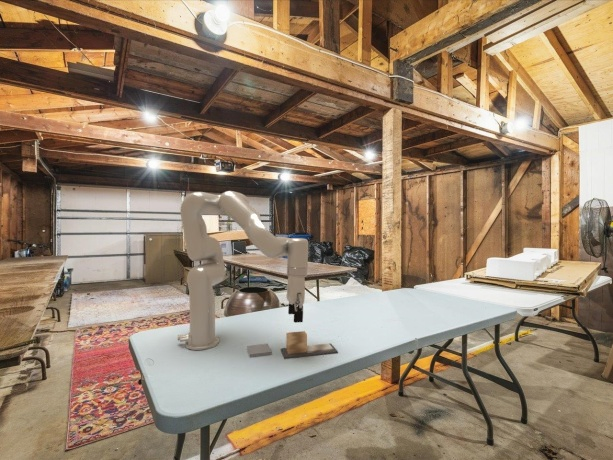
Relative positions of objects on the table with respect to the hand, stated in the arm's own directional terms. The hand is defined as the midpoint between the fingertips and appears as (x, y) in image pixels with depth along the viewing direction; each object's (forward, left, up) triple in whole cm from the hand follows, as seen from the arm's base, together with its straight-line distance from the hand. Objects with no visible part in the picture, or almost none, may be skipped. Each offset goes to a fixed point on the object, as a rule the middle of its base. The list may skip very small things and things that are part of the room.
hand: (295, 317), depth 112 cm
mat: (+5, 0, -13) cm, 14 cm away
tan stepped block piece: (+5, 0, -12) cm, 13 cm away
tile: (-13, +8, -13) cm, 20 cm away
